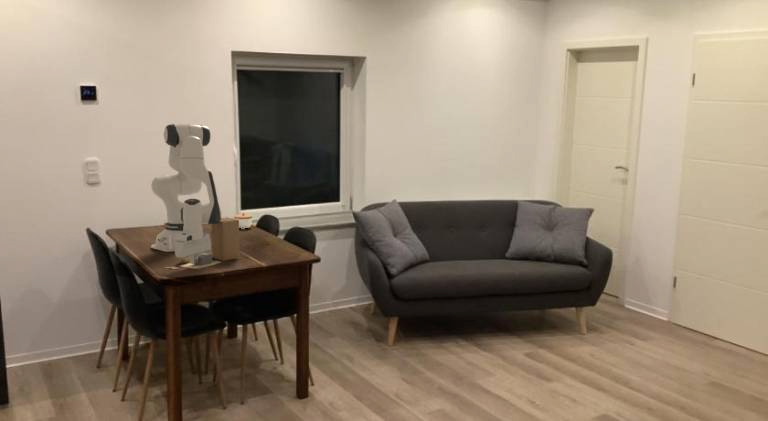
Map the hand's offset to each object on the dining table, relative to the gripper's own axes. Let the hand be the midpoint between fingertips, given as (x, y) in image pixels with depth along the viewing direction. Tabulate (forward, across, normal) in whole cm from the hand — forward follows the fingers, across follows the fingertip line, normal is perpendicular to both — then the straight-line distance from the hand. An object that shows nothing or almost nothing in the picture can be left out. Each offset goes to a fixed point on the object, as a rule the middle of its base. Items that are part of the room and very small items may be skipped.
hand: (194, 263), depth 312 cm
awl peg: (+2, -4, -9) cm, 10 cm away
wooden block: (+2, -21, +1) cm, 21 cm away
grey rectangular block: (+1, -6, 0) cm, 6 cm away
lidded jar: (+2, -86, -43) cm, 97 cm away
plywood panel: (+2, -4, 0) cm, 5 cm away
